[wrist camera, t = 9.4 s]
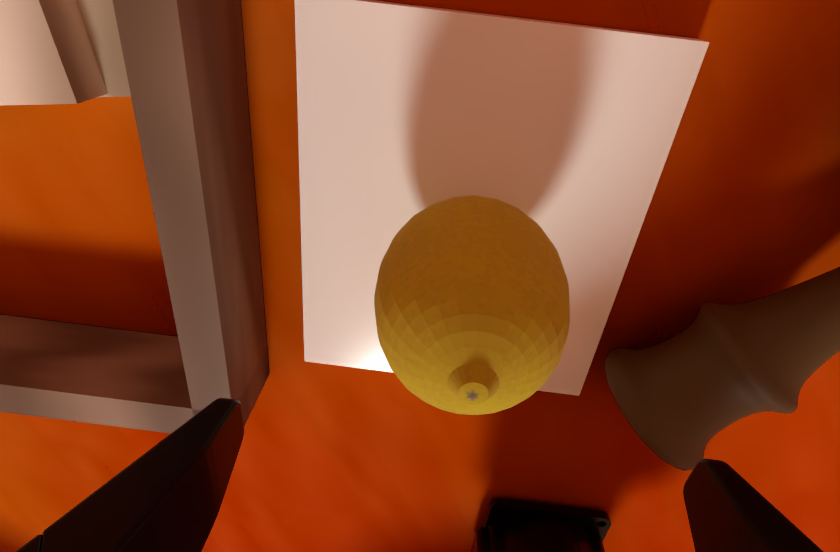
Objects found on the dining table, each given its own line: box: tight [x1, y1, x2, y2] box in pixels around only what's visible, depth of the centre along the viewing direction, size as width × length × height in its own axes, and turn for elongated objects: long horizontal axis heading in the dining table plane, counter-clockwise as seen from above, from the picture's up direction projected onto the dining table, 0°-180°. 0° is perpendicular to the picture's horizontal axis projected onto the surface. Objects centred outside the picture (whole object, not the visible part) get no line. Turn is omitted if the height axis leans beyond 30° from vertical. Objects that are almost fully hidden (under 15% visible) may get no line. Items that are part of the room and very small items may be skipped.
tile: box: [295, 0, 709, 396], centre depth 18 cm, size 12×14×1 cm
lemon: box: [374, 195, 570, 415], centre depth 15 cm, size 6×6×8 cm
